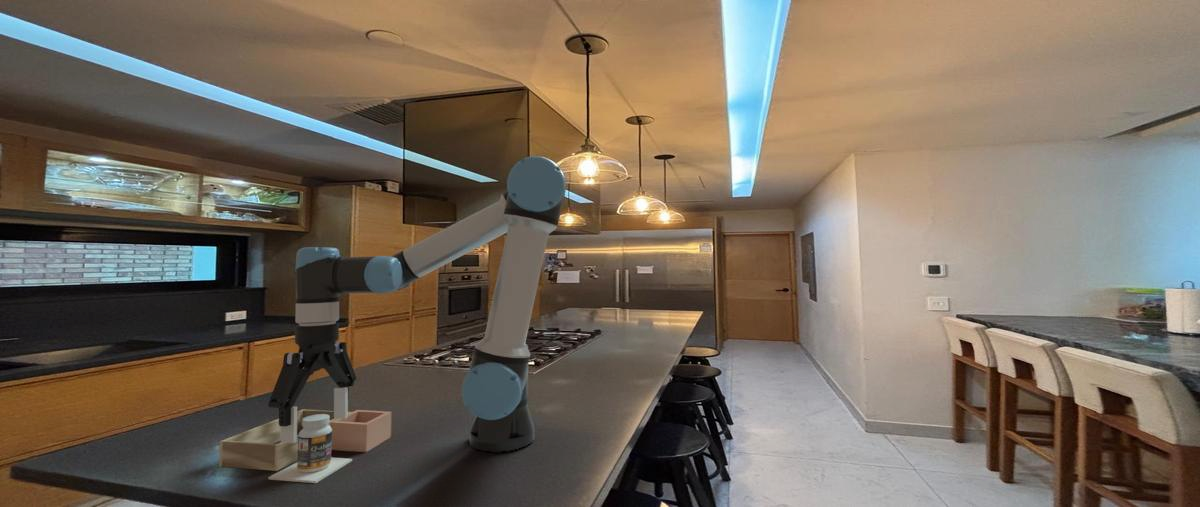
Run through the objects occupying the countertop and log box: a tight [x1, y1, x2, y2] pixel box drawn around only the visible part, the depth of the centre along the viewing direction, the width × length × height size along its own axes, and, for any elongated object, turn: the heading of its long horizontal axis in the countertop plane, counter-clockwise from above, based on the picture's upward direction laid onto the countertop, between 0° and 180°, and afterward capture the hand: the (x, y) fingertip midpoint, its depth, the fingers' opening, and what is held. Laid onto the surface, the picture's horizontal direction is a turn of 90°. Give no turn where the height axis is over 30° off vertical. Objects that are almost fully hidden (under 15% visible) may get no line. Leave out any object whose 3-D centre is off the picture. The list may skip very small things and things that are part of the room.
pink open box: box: [330, 409, 393, 453], centre depth 103 cm, size 9×9×6 cm
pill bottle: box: [296, 414, 332, 473], centre depth 89 cm, size 6×6×10 cm
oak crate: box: [218, 408, 352, 472], centre depth 100 cm, size 21×13×5 cm, turn 172°
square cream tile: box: [267, 456, 353, 484], centre depth 89 cm, size 10×10×1 cm
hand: (316, 429), depth 89 cm, fingers open, 13 cm apart
